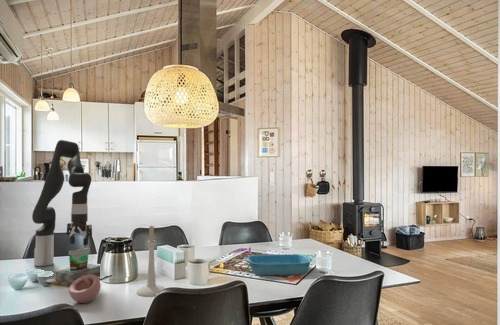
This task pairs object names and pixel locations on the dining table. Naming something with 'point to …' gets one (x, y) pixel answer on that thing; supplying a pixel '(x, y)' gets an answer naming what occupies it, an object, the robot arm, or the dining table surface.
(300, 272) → the casserole dish
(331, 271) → the dining table surface
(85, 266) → the food container
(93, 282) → the mortar and pestle
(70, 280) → the plinth
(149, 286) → the candlestick
